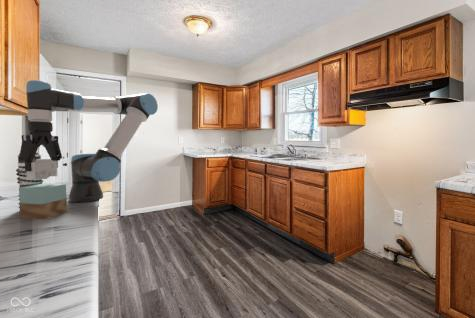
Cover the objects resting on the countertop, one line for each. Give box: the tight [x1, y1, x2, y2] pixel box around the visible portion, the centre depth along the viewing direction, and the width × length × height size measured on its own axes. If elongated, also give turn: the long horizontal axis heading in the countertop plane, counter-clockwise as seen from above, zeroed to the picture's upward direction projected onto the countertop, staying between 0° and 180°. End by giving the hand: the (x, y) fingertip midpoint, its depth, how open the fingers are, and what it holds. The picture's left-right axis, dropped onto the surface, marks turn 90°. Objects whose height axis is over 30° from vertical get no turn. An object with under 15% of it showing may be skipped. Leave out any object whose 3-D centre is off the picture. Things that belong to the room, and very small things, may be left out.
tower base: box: [19, 198, 68, 220], centre depth 99 cm, size 10×10×6 cm
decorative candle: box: [15, 152, 44, 212], centre depth 106 cm, size 9×9×25 cm
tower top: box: [18, 182, 67, 204], centre depth 99 cm, size 10×10×6 cm
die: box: [33, 158, 58, 180], centre depth 98 cm, size 8×9×10 cm
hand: (43, 177), depth 99 cm, fingers closed on die, 9 cm apart
